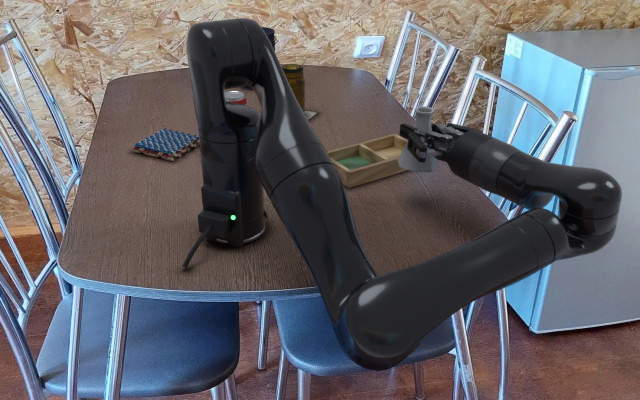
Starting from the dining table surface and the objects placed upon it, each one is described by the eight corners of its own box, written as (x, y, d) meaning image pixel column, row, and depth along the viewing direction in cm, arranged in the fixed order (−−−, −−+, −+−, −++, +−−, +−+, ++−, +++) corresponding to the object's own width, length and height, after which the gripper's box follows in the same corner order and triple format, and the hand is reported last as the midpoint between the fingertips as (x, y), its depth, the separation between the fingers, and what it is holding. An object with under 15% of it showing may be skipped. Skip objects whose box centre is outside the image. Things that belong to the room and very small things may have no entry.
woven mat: (131, 153, 118) (129, 144, 117) (163, 135, 126) (162, 127, 125) (171, 162, 114) (170, 153, 113) (202, 144, 122) (201, 135, 121)
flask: (436, 177, 93) (443, 119, 88) (393, 170, 95) (398, 113, 90) (442, 159, 99) (450, 105, 94) (402, 153, 101) (407, 99, 96)
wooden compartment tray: (425, 164, 115) (427, 149, 114) (348, 188, 106) (349, 172, 104) (393, 147, 122) (394, 133, 121) (318, 168, 113) (319, 153, 111)
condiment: (286, 108, 143) (285, 61, 137) (317, 113, 140) (317, 65, 134) (273, 117, 137) (271, 68, 131) (304, 123, 134) (304, 73, 128)
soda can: (244, 154, 117) (241, 99, 112) (220, 152, 118) (216, 97, 112) (252, 145, 122) (249, 91, 116) (229, 142, 123) (225, 89, 117)
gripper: (451, 197, 82) (376, 155, 95) (515, 174, 89) (437, 138, 102) (458, 150, 79) (379, 113, 91) (524, 130, 86) (443, 98, 98)
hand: (410, 126), depth 96 cm, fingers closed on flask, 3 cm apart
